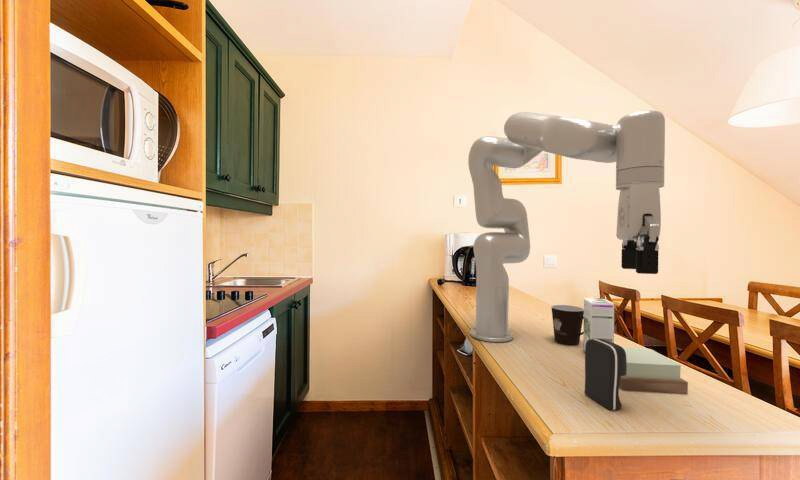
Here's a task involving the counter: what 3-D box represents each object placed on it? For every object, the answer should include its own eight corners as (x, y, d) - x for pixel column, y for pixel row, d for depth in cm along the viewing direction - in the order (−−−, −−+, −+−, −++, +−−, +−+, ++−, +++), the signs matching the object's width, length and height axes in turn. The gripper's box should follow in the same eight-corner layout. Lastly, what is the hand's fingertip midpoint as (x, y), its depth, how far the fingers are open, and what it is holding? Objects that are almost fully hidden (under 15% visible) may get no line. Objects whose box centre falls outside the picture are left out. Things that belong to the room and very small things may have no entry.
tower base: (596, 370, 82) (596, 357, 82) (650, 372, 81) (650, 360, 81) (623, 393, 70) (623, 378, 70) (687, 397, 69) (687, 382, 69)
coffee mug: (547, 336, 106) (547, 304, 105) (577, 338, 104) (577, 305, 104) (559, 349, 94) (559, 313, 94) (592, 351, 93) (593, 314, 93)
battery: (629, 410, 62) (630, 347, 62) (610, 412, 61) (612, 348, 61) (599, 392, 69) (601, 335, 69) (582, 393, 68) (584, 336, 68)
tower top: (603, 359, 81) (604, 346, 81) (649, 361, 80) (650, 348, 79) (627, 377, 71) (627, 362, 71) (680, 380, 70) (680, 365, 70)
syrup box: (614, 360, 87) (616, 302, 86) (588, 358, 88) (590, 301, 87) (605, 352, 92) (607, 298, 92) (581, 351, 93) (583, 297, 93)
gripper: (606, 187, 75) (605, 266, 75) (628, 173, 58) (627, 274, 59) (647, 185, 72) (646, 268, 72) (683, 170, 56) (681, 276, 56)
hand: (638, 271), depth 65 cm, fingers open, 9 cm apart
